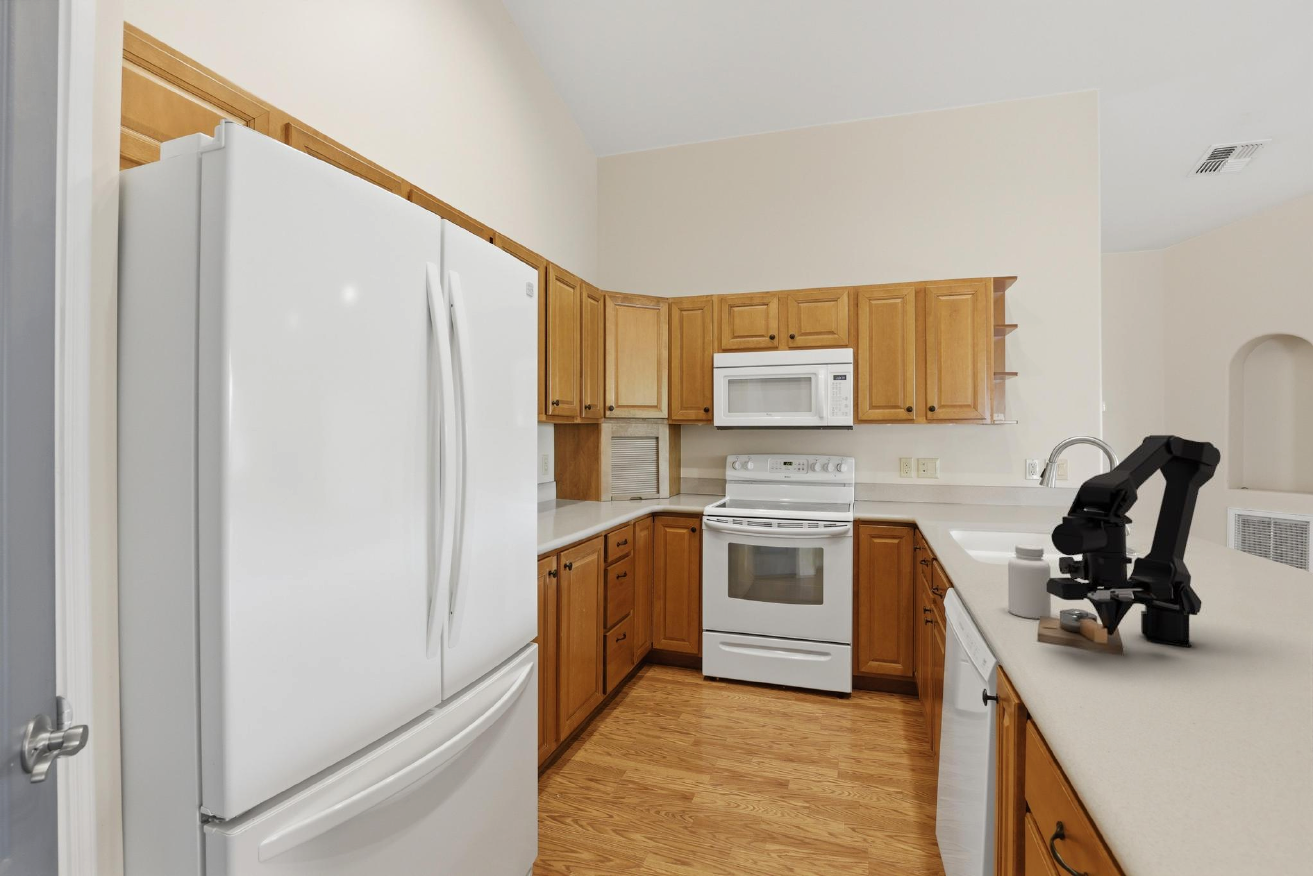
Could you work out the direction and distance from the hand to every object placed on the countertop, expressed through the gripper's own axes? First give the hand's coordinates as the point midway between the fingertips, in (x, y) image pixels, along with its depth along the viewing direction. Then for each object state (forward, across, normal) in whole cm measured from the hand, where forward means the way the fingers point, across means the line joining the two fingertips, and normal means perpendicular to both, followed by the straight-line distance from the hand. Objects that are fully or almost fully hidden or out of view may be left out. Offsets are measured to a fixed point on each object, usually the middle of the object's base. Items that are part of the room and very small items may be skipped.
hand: (1109, 634), depth 108 cm
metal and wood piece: (+1, +1, -5) cm, 5 cm away
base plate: (+3, +1, -8) cm, 8 cm away
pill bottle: (+3, +2, -22) cm, 23 cm away
